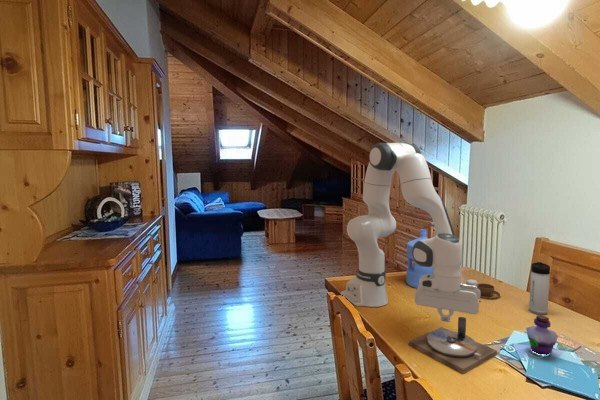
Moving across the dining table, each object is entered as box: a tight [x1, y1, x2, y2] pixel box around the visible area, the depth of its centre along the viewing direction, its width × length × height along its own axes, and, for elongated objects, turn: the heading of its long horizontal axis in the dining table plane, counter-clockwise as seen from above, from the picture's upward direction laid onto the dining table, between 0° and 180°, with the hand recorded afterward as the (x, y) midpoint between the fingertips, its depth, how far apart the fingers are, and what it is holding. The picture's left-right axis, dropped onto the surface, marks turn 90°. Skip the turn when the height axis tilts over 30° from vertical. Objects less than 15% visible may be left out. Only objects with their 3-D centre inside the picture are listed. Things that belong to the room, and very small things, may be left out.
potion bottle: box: [525, 314, 559, 355], centre depth 114 cm, size 9×9×12 cm
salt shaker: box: [465, 278, 479, 287], centre depth 146 cm, size 6×6×13 cm
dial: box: [427, 316, 477, 357], centre depth 116 cm, size 15×15×7 cm
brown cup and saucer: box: [477, 283, 501, 303], centre depth 164 cm, size 18×20×6 cm
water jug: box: [405, 228, 433, 289], centre depth 178 cm, size 16×16×28 cm
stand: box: [408, 326, 498, 375], centre depth 117 cm, size 20×18×3 cm
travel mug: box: [528, 261, 551, 316], centre depth 144 cm, size 6×7×20 cm
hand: (445, 320), depth 122 cm, fingers closed
